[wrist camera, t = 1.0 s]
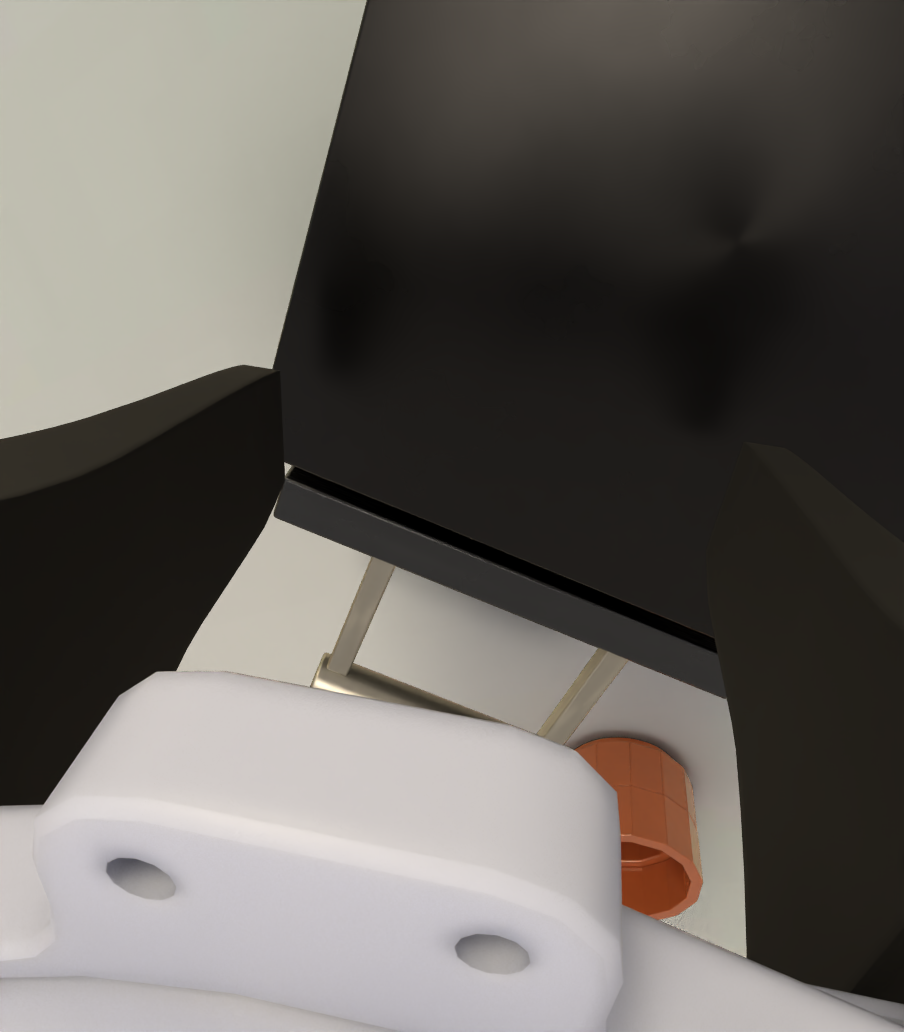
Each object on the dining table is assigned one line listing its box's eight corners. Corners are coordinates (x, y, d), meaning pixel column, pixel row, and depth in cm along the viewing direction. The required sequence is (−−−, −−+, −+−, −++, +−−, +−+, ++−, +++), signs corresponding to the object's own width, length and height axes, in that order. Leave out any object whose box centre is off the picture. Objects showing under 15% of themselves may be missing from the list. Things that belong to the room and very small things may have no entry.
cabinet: (757, 489, 22) (816, 680, 16) (353, 316, 21) (250, 449, 15) (1198, -89, 14) (1654, -148, 8) (579, -408, 13) (558, -755, 7)
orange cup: (716, 794, 30) (731, 903, 26) (600, 830, 32) (599, 934, 29) (644, 712, 28) (650, 818, 25) (527, 757, 31) (517, 859, 27)
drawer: (612, 672, 26) (614, 823, 21) (296, 545, 25) (225, 673, 20) (1051, 92, 15) (1248, 136, 11) (529, -163, 15) (493, -237, 10)
